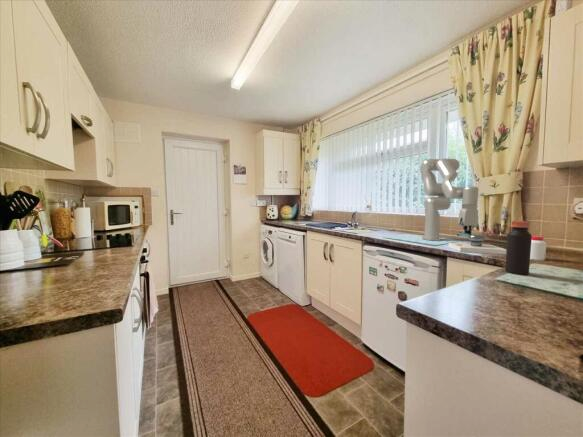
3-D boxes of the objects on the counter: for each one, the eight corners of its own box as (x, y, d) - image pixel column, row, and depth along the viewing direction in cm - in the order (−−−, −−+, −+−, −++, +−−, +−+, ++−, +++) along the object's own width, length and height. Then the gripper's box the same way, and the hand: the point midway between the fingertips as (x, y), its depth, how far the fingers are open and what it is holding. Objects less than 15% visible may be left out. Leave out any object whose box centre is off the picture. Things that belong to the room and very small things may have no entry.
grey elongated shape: (488, 246, 135) (488, 235, 135) (475, 246, 134) (476, 235, 134) (462, 241, 152) (463, 231, 152) (452, 241, 151) (452, 232, 151)
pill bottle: (540, 257, 121) (541, 236, 120) (548, 261, 114) (550, 238, 113) (520, 256, 124) (521, 235, 123) (527, 259, 117) (528, 236, 116)
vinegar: (531, 273, 92) (535, 221, 91) (525, 276, 89) (529, 222, 87) (508, 269, 98) (511, 220, 97) (502, 271, 94) (505, 221, 93)
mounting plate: (448, 246, 150) (448, 241, 150) (489, 248, 144) (490, 243, 144) (460, 251, 133) (460, 246, 133) (507, 254, 128) (507, 249, 127)
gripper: (474, 207, 151) (472, 235, 153) (453, 206, 149) (451, 236, 150) (485, 207, 144) (483, 237, 145) (464, 207, 141) (462, 238, 143)
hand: (467, 236), depth 148 cm, fingers closed
